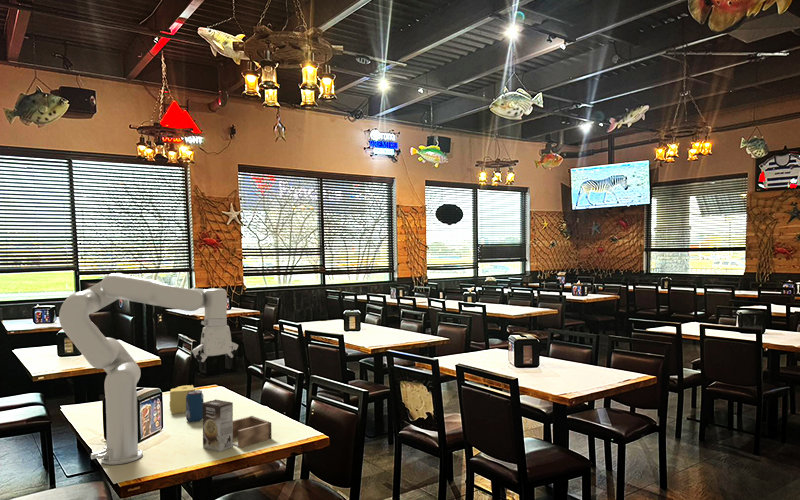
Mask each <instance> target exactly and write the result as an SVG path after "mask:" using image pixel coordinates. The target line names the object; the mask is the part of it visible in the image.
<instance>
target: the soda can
mask: <svg viewBox="0 0 800 500" xmlns="http://www.w3.org/2000/svg"><path fill="white" fill-rule="evenodd" d="M204 402H205V401H204V393H203V390H199V389H198V390H196V389H195V391H189V392H188V393H187V396H186V412H185V419H186V421H187V422H188V423H192V424H193V423H199V422H201V421H202V422H203V404H202V403H204Z"/></svg>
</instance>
